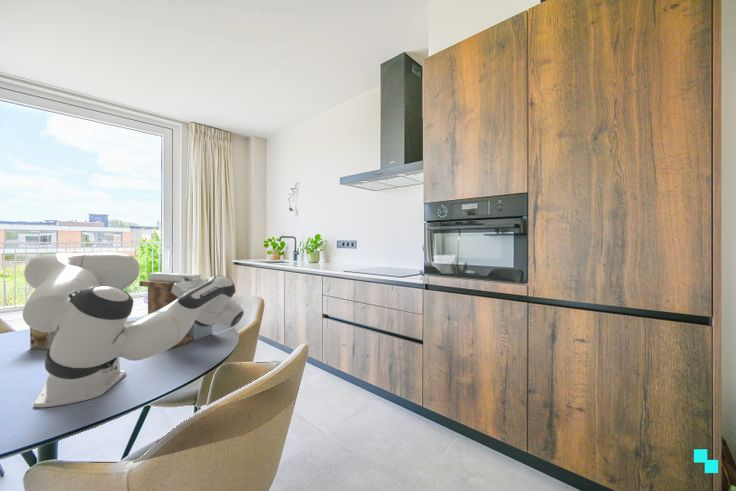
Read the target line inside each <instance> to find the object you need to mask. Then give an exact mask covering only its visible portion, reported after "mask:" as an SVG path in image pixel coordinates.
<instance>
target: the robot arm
mask: <svg viewBox="0 0 736 491" xmlns="http://www.w3.org/2000/svg"><path fill="white" fill-rule="evenodd" d="M140 269H141V268H140V264H139V261H138V260H137V258H135V257H134V256H133V255H132V254H127V253H119V252H67V253H66V252H61V253H60V252H58V253H50V254H44V255H38V256H35V257H33V258H32V259H30V261H29V262H27V264H26V266H25V268H24V278H25V281H26V283H27V284H28V285H29V286H30V287H31V288H33V289H35V290H34V291H33V292H32V293H31V294H30V296H29V297H28V298H27V300H26V303H25V305H24V307H23V310H22V318H23V321H24V323H25V324H26V325H27V326H28V327H29V328H30V327H31V328H33V329H35V330H38V331H42V332H54V331H57V333H56V335H55V338H54V340H53V343H52V345H51V348H50V349H47V351H46V355H45V360H44V368H45V370H46V371H47V373H48V375H47V379H46V382H45V384H44V385H43V387H42V389H41V390H40V392H39V393H38V395H37V397H36V398H35V400H34V402H33V407H34V408H50V407H57V406H65V405H70V404H74V403H79V402H84V401H87V400H91V399H95V398H98V397H100V396H102V395H104V393H106V392H107V391H109V389H111V388H113V386H114V385H115V384H117V383H118V382H119V381H120V380H121V379H123V377H125V376H126V375H127V371H126V370H125V369H121V366H120V365H121V364H120V358H124V359H126V360H128V361H136V362H137V361H141V360H145V359H146V360H147V359H149V358H153V357H155V356H158V355H160V354H163V353H164V352H166V351H168V350H171V349H170V348H172V347H173V346H175V345H176V344H178V343H179V342H180V341H181V340H182V339H183V338H184V337H185V336H186V335H187V333H188V332H189V330H190V328H191V327H192V325H193V323H195V324H197V325H199V326H201V327H207V326H211V325H212V326H213V325H224V326H226V327H228V328H233V327H235V326H236V325H237V324H238V323H240V321H241V319H242V318H243V316H244V313H245V311H244V309H243V308H242V306H241V305H240V304H239V303H238V302H237V301H236V300H235V299H234V298H233V296H234V294H235V293H236V291H237V290H236V287H235V283H234V281H233V280H232V279H231V278H229V277H227V276H225V275H219V274H218V275H214V276H210V277H208V278H202V277H201V280H196V281H188V282H187V281H185V279H186V278H185V277H179V279H178V280H179V281H180V282H181V283H175V284H174V285H173V287H172V290H171V292H172V293H173V294H174V295H175V296H177V297H178V299H176V300H175V301H173V302H171V303H170V304H168V305H166V306H165V307H163V308H161V309H159V310H157V311H155V312H153V313H150V314H148V313H147V314H146V315H143V316H140V317H139V318H137V319H135V320H128V318H129V316H130V315H131V314H132V310H133V307H134V299H133V297H132V296H131V295H130V294H129V293H128V292H127V291H126V290H125V289H126V288H128V286H130V285H132V284H133V283H134V282H135V281H136V280H137V278H138V277H139V274H140V271H141V270H140Z"/></svg>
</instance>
